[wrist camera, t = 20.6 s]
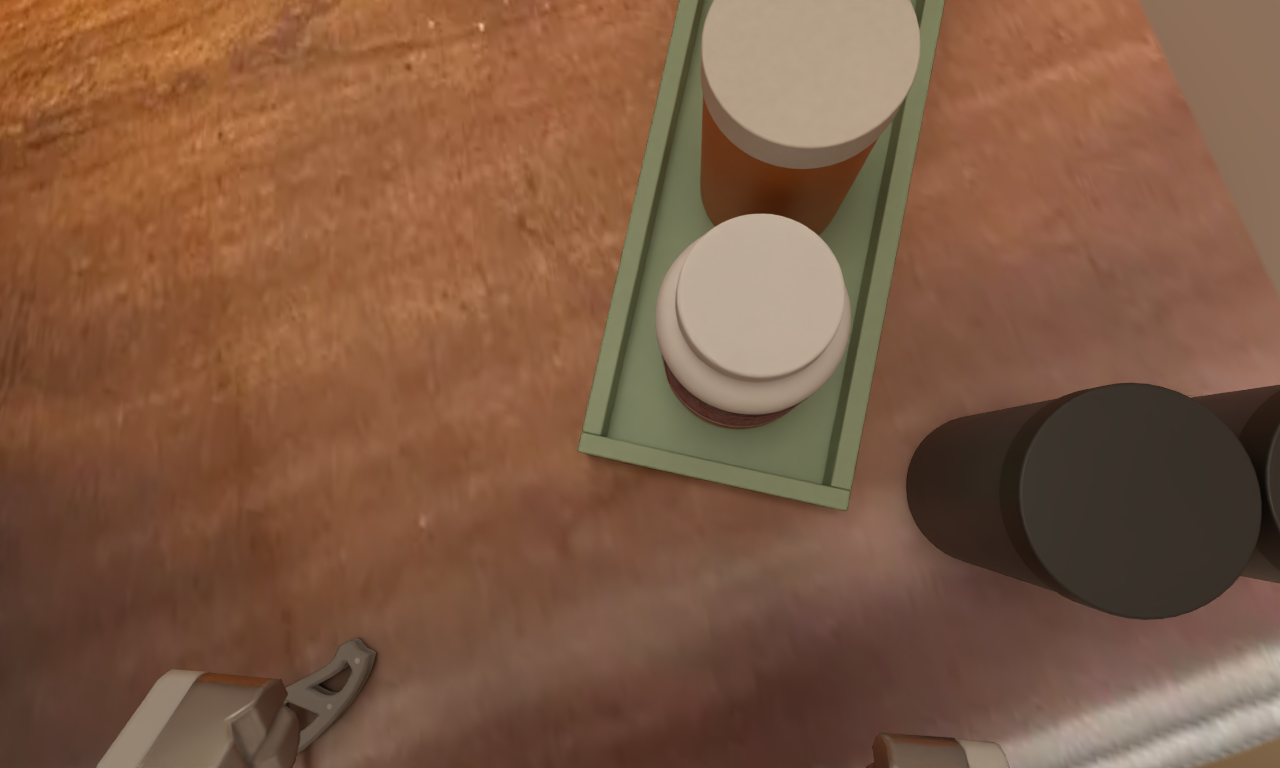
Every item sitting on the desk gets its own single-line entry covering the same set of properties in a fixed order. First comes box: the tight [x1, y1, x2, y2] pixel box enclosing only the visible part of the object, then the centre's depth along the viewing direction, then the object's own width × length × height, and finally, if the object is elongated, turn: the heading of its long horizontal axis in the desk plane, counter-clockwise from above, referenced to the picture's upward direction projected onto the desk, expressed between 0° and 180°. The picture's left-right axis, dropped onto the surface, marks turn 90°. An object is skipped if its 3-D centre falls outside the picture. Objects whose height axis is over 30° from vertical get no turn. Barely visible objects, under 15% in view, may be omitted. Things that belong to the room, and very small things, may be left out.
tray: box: [578, 0, 945, 511], centre depth 32 cm, size 26×11×2 cm, turn 167°
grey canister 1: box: [907, 383, 1262, 620], centre depth 26 cm, size 6×6×11 cm
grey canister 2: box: [1192, 385, 1280, 583], centre depth 26 cm, size 6×6×11 cm
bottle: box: [700, 0, 921, 235], centre depth 27 cm, size 6×6×11 cm
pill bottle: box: [655, 214, 851, 429], centre depth 27 cm, size 6×6×11 cm
